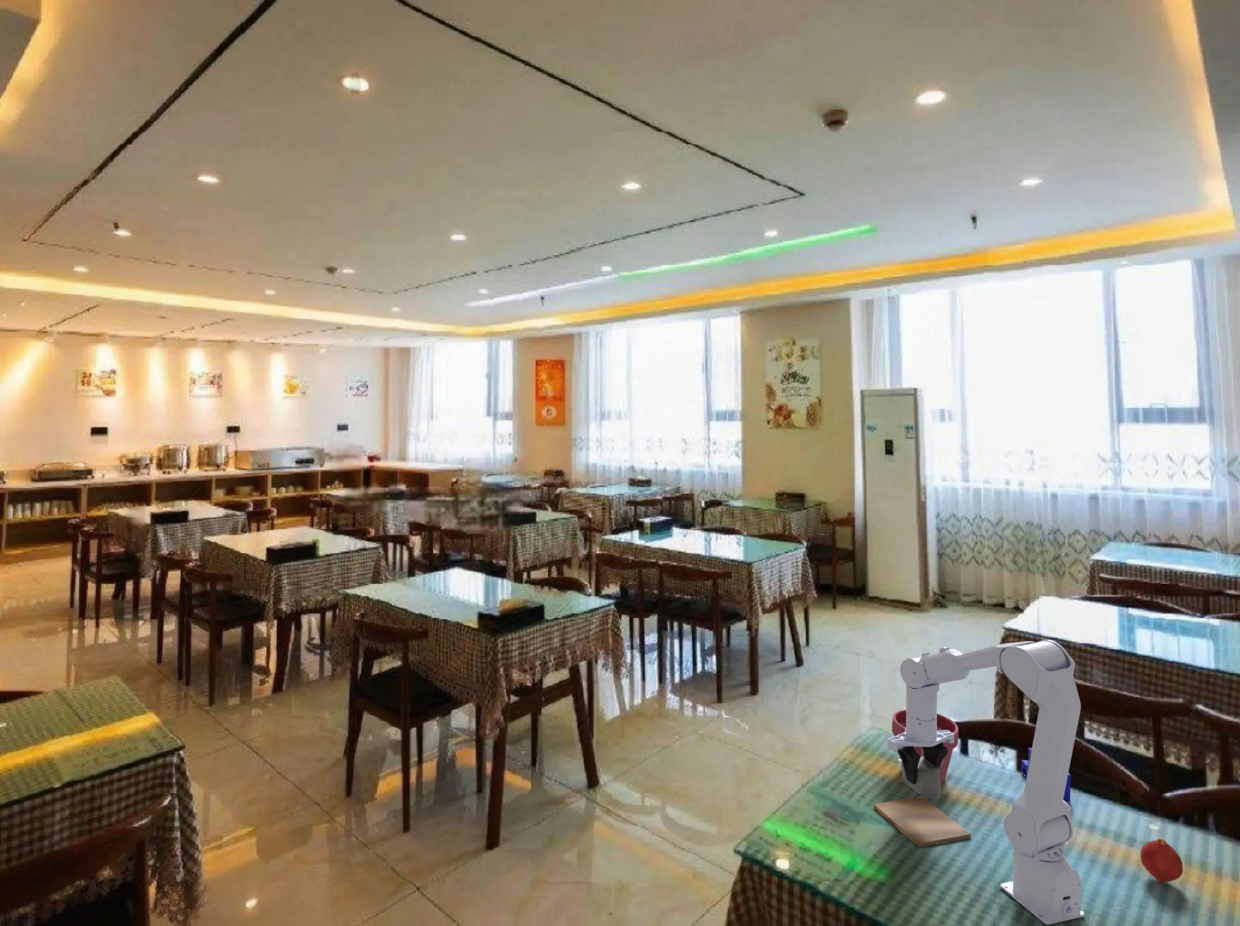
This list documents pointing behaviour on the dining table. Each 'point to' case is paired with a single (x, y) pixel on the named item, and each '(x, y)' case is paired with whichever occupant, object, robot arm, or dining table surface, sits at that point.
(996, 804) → the dining table surface
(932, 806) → the walnut pad
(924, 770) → the grey rounded bottle
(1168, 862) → the onion
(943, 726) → the plant pot
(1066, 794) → the cable clip
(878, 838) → the dining table surface
